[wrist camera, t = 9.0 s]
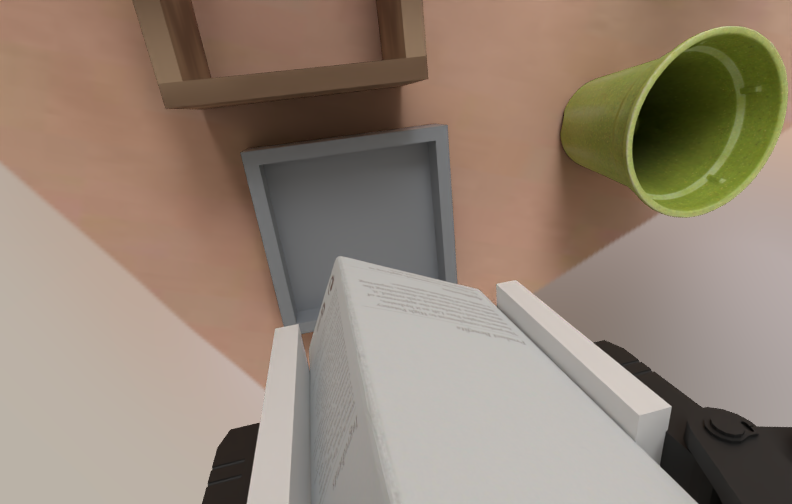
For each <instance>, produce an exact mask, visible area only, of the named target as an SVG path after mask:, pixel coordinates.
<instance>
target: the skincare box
mask: <svg viewBox="0 0 792 504" xmlns="http://www.w3.org/2000/svg"><path fill="white" fill-rule="evenodd" d="M309 361H310V465H311V504H698V503H697V502H696V501H695V500H694V499H693V498H692V497H691V496H690V495H689V494H688V493H687V492H686V491H685V490H684V489H683V488H682V487H681V486H680V485H679V484H678V483H677V482H676V481H675V480H674V479H673V478H671V477H670V476H669V475H668V474H667V473H666V472H665V471H664V470H663V469H662V468H661V467H660V466H659V465H658V464H657V463H656V462H655V461H654V460H653V459H652V458H651V457H650V456H649V455H648V454H647V453H646V452H645V451H644V450H643V449H642V448H641V447H640V446H639V445H638V444H637V443H636V442H635V441H634V440H633V439H632V438H630V437H629V436H628V435H627V434H626V433H625V432H624V431H623V430H622V429H621V428H620V427H619V426H618V425H617V424H616V423H615V422H614V421H613V420H612V419H611V418H610V417H609V416H608V415H607V414H606V413H605V412H604V411H603V410H602V409H601V408H600V407H599V406H598V405H597V404H596V403H595V402H594V401H593V400H592V399H591V398H589V397H588V396H587V395H586V394H585V393H584V392H583V391H582V390H581V389H580V388H579V387H578V386H577V385H576V384H575V383H574V382H573V381H572V380H571V379H570V378H569V377H568V376H567V375H566V374H565V373H564V372H563V371H562V370H561V369H560V368H559V367H558V366H557V365H556V364H555V363H554V362H553V361H552V360H551V359H550V358H549V357H548V356H546V355H545V354H544V353H543V352H542V351H541V350H540V349H539V348H538V347H537V346H536V345H535V344H534V343H533V342H532V341H531V340H530V339H529V338H528V337H527V336H526V335H525V334H524V333H523V332H522V331H521V330H520V329H519V328H518V327H517V326H516V325H515V324H514V323H513V322H512V321H511V320H510V319H509V318H508V317H507V316H506V315H505V314H503V313H502V312H501V311H500V310H499V309H498V308H497V307H496V306H495V305H494V304H493V303H492V302H491V301H490V300H489V299H488V298H487V297H486V296H485V295H484V294H483V293H482V292H481V291H480V290H478V289H476V288H471V287H467V286H463V285H458V284H454V283H450V282H446V281H442V280H438V279H434V278H430V277H426V276H421V275H417V274H413V273H409V272H405V271H401V270H397V269H392V268H388V267H384V266H380V265H376V264H372V263H368V262H364V261H360V260H356V259H352V258H347V257H342V256H338V257H337V258H336V260H335V262H334V266H333V269H332V273H331V276H330V279H329V282H328V285H327V289H326V292H325V295H324V299H323V302H322V305H321V309H320V312H319V316H318V319H317V322H316V326H315V329H314V332H313V336H312V340H311V344H310V348H309Z"/></svg>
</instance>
